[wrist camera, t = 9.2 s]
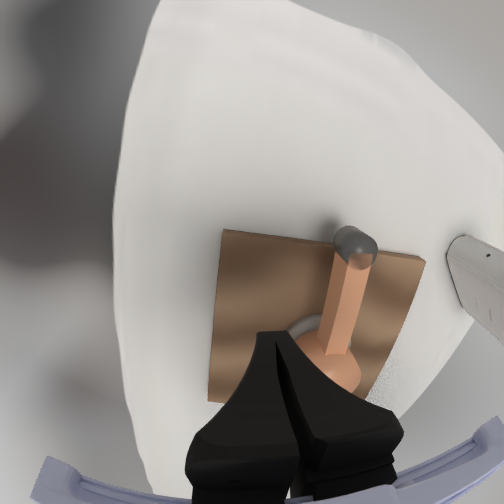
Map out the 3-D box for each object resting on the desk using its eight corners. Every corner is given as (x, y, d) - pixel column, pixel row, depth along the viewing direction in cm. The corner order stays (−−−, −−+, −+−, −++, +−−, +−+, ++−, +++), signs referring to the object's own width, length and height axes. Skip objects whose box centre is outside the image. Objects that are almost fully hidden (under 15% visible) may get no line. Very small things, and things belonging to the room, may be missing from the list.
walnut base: (360, 395, 28) (365, 407, 26) (208, 393, 26) (206, 408, 24) (420, 253, 22) (433, 261, 20) (224, 224, 20) (222, 231, 18)
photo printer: (439, 252, 22) (528, 311, 10) (464, 226, 21) (553, 270, 10) (460, 313, 25) (521, 371, 13) (481, 289, 24) (545, 340, 12)
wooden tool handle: (337, 372, 23) (349, 403, 19) (283, 374, 22) (289, 408, 19) (377, 226, 18) (405, 242, 15) (310, 219, 18) (328, 235, 14)
